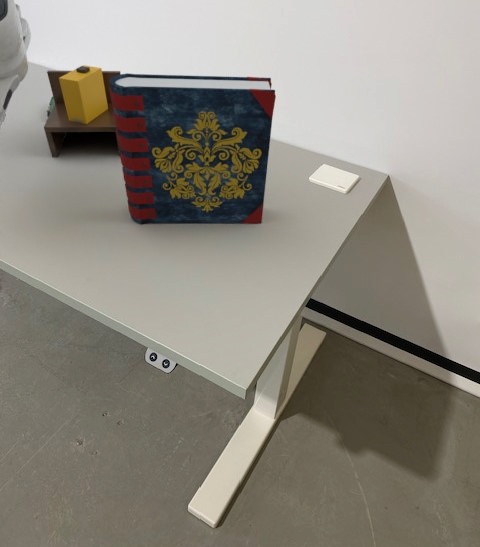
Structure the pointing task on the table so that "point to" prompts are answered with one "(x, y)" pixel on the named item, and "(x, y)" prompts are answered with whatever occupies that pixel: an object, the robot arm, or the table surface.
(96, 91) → the tape measure
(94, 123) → the shelf
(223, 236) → the table surface
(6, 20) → the robot arm
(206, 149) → the book
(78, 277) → the table surface
